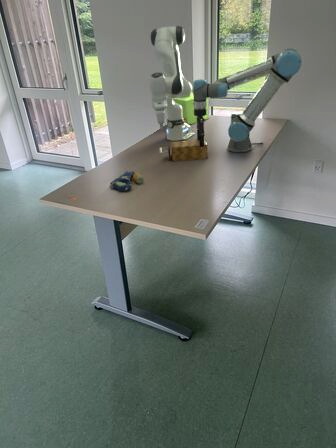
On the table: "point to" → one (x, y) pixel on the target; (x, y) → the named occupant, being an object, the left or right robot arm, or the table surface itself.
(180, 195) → the table surface
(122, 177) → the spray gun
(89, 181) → the table surface
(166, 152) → the drawer
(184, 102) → the lime green box
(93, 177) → the table surface
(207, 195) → the table surface
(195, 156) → the wicker basket box
